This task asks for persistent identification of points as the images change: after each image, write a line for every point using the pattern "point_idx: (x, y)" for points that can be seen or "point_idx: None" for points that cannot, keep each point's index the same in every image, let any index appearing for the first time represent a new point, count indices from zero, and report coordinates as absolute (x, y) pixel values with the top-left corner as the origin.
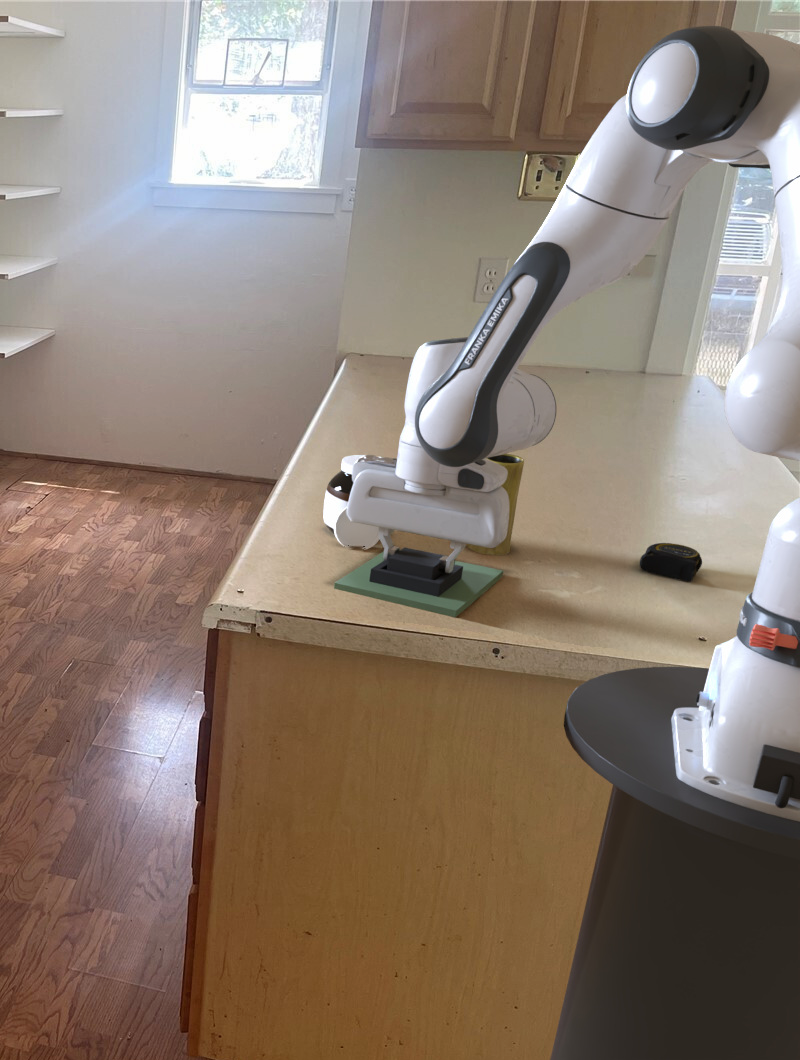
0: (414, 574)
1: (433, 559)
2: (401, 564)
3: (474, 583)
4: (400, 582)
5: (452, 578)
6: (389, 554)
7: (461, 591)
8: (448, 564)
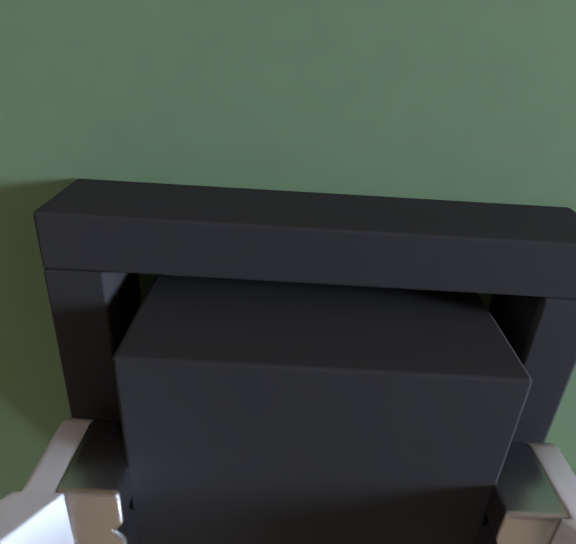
0: (277, 308)
1: (195, 510)
2: (399, 352)
3: None
4: (353, 210)
5: None
6: (531, 475)
7: (30, 352)
8: (49, 463)
